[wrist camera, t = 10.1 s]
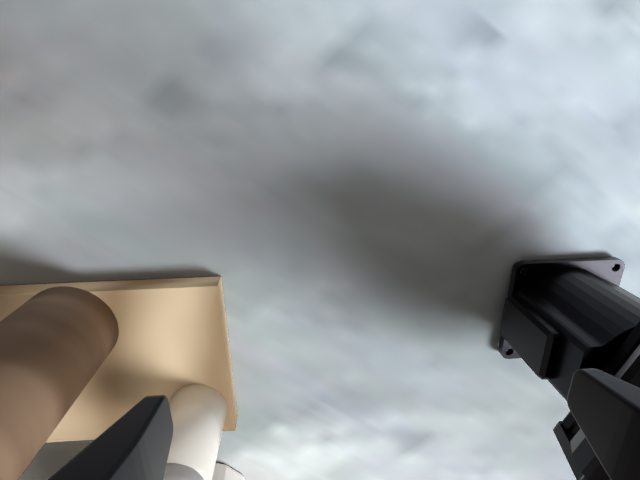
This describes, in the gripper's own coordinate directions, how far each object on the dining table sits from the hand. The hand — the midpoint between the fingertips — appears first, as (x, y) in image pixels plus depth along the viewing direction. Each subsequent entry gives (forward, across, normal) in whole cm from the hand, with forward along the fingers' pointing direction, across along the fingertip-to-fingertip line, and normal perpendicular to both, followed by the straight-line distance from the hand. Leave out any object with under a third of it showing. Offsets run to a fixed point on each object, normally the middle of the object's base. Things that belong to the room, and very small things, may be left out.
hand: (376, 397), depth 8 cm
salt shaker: (+12, +8, +11) cm, 18 cm away
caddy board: (+13, +12, +8) cm, 19 cm away
